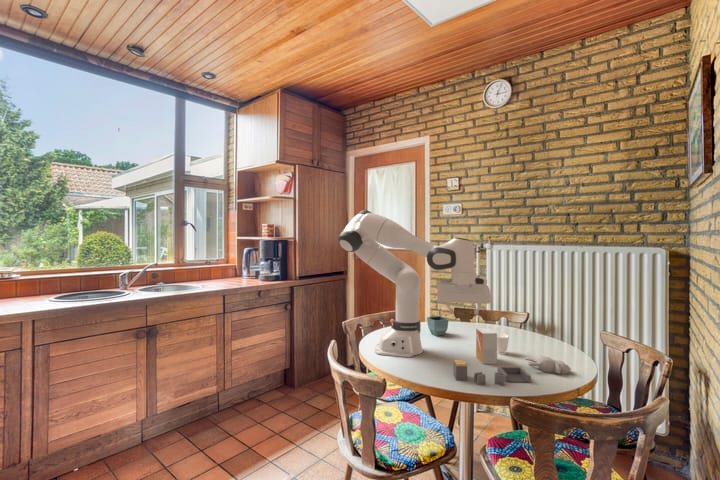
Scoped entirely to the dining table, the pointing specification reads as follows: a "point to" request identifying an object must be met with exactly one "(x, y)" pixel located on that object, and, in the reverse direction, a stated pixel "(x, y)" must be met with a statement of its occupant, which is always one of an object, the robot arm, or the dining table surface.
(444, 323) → the flower pot
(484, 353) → the small box
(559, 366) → the bunny figurine
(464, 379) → the connector
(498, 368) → the end holder
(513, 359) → the dining table surface
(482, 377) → the clip
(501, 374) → the clip
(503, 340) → the cup
